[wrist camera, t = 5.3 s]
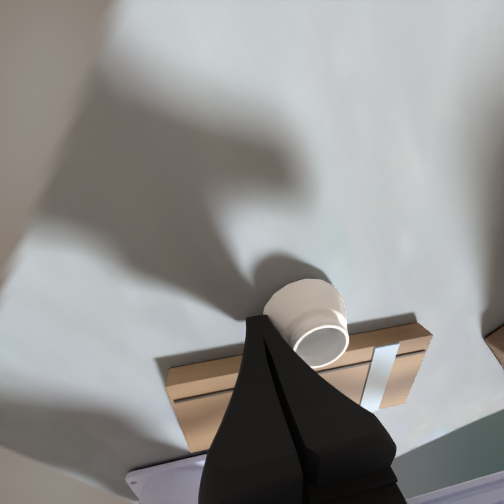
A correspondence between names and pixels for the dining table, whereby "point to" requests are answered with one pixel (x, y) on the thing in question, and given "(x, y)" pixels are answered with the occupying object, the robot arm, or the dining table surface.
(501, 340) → the wooden block
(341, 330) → the lidless jar
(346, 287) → the dining table surface
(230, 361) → the board
